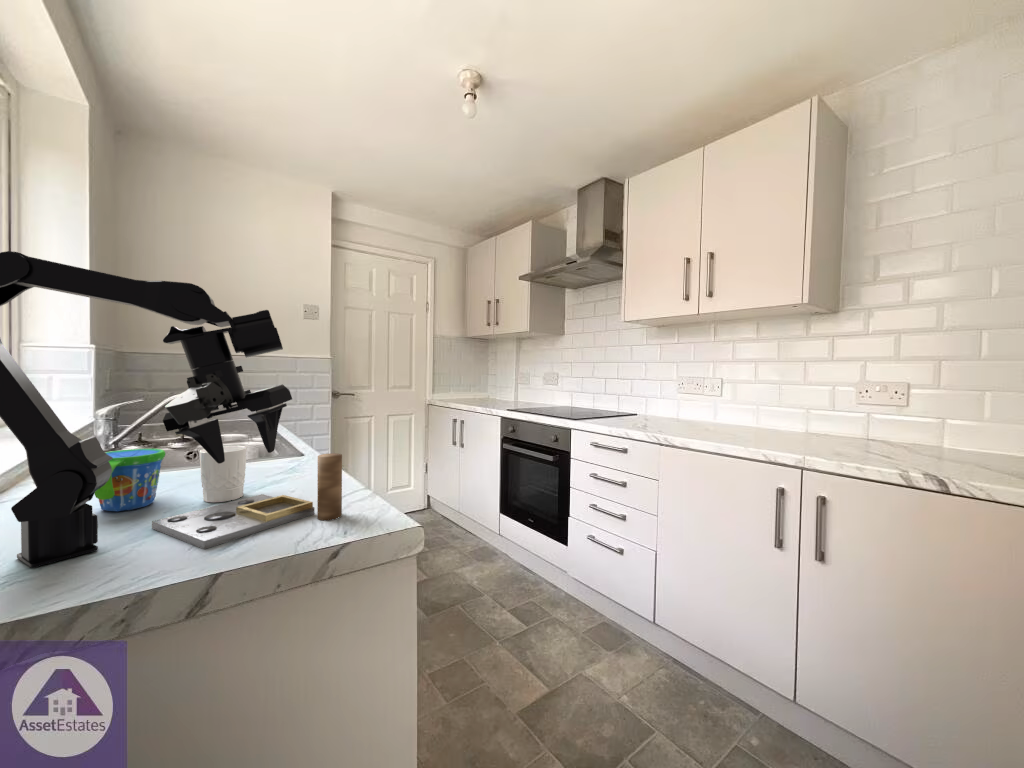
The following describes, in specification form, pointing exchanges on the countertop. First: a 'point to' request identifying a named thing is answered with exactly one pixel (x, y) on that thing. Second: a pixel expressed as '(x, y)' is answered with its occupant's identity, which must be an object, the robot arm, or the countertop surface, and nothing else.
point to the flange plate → (233, 519)
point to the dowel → (329, 486)
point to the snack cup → (131, 479)
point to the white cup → (223, 474)
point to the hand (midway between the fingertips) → (246, 457)
